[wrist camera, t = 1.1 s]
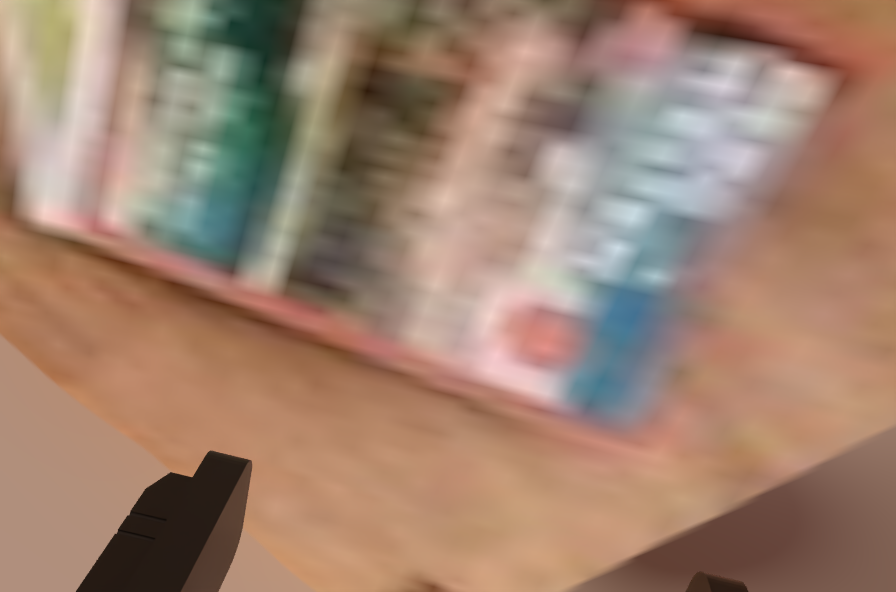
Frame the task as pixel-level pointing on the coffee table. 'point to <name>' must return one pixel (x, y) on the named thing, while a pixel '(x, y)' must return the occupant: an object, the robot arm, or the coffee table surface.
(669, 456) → the coffee table surface
